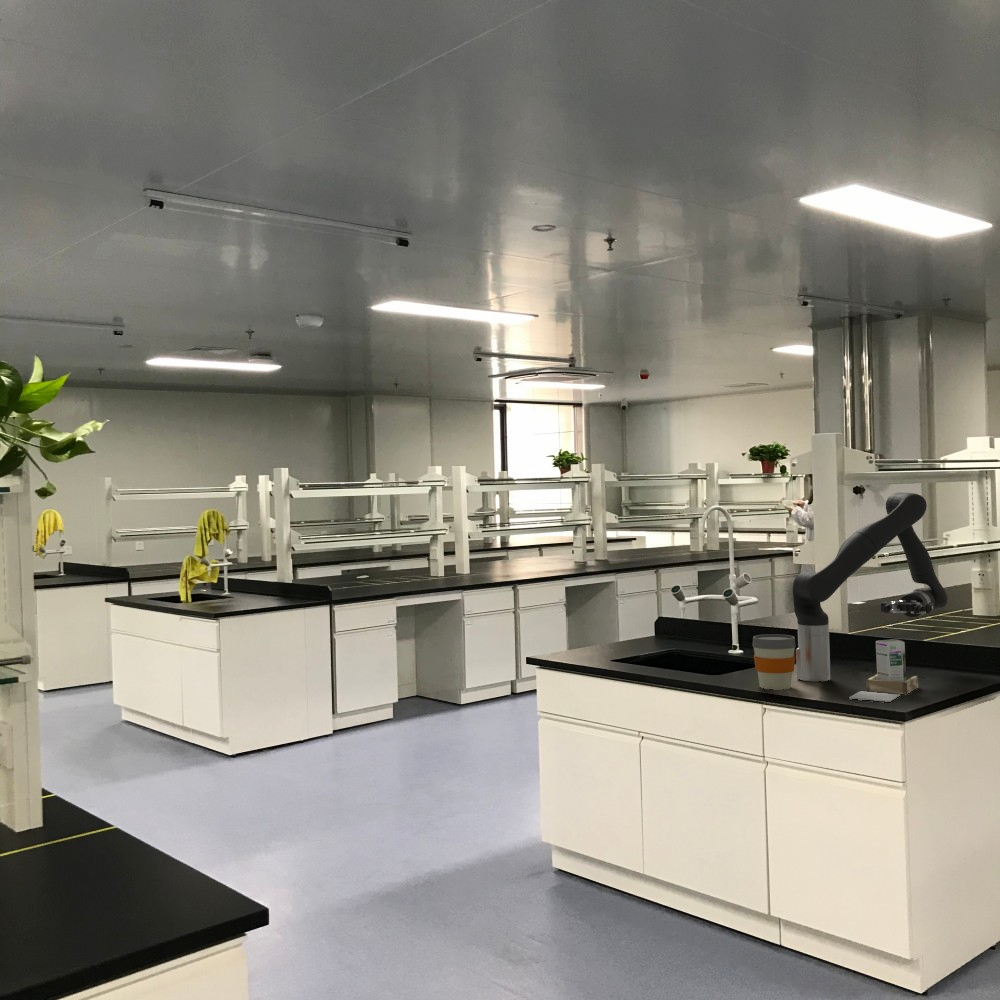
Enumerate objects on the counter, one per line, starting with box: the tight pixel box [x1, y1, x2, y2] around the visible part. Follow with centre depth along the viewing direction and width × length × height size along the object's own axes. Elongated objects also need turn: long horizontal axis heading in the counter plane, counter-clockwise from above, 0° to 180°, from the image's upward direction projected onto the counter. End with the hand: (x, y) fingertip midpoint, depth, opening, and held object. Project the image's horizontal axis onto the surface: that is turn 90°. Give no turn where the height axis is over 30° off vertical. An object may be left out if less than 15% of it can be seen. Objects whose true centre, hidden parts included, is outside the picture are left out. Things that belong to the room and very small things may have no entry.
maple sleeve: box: [865, 674, 919, 695], centre depth 288 cm, size 12×11×4 cm
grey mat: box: [848, 690, 901, 703], centre depth 278 cm, size 11×10×1 cm
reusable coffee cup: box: [752, 633, 797, 691], centre depth 298 cm, size 13×12×15 cm
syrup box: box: [875, 638, 907, 682], centre depth 287 cm, size 6×6×14 cm
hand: (900, 610), depth 296 cm, fingers open, 8 cm apart
